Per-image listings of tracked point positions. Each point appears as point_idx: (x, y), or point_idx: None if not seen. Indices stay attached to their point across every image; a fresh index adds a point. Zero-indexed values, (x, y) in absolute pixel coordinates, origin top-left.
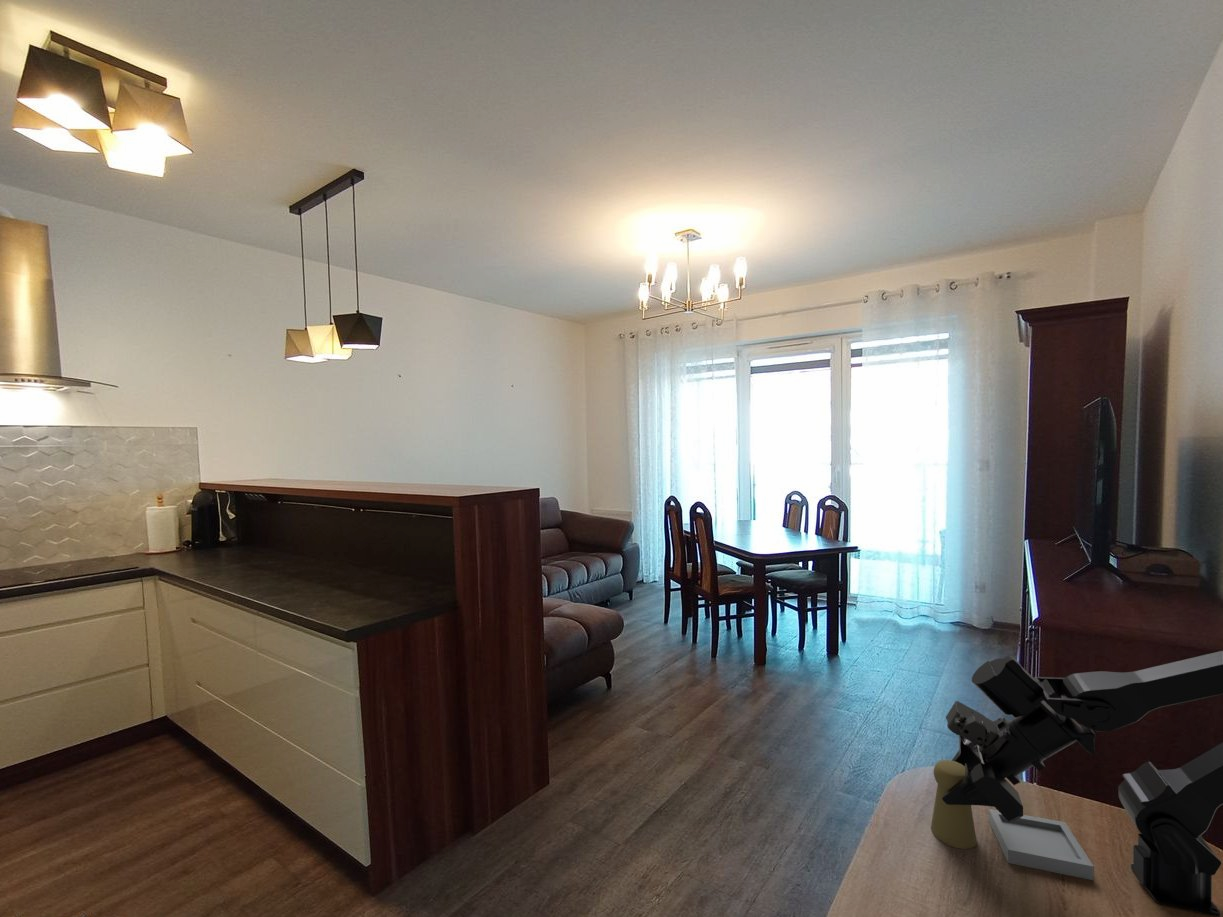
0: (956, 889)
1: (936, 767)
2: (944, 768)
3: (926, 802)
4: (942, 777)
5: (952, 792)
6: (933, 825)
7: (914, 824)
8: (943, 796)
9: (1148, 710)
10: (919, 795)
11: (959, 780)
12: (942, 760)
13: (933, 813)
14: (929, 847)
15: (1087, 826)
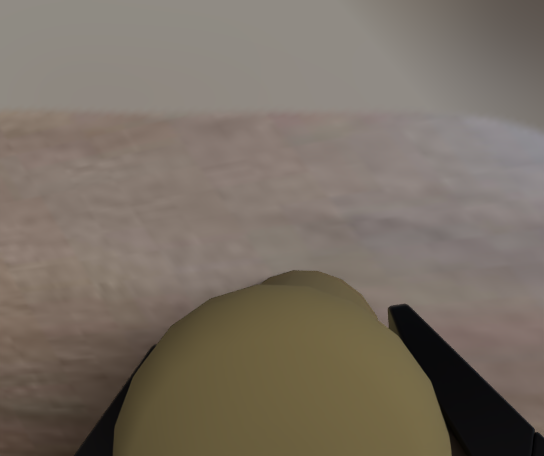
0: (22, 376)
1: (218, 316)
2: (179, 404)
3: (459, 234)
4: (135, 373)
5: (93, 437)
6: (265, 282)
7: (278, 214)
8: (146, 357)
9: None
10: (494, 201)
11: None
12: (352, 370)
13: (283, 280)
14: (177, 279)
15: None
